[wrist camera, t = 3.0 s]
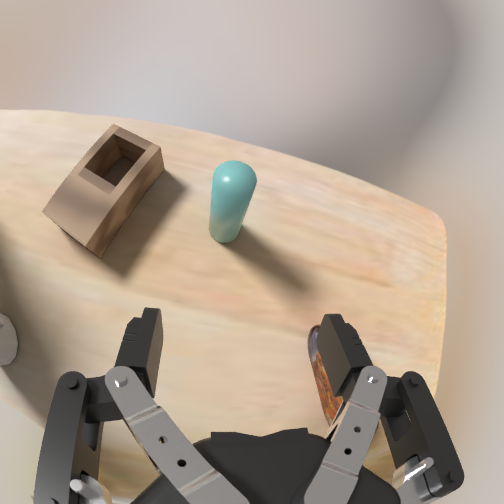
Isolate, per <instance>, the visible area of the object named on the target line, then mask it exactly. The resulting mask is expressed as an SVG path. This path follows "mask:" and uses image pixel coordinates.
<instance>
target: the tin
mask: <svg viewBox="0 0 504 504" xmlns="http://www.w3.org/2000/svg"><path fill="white" fill-rule="evenodd" d="M320 326H321V325H315V326H313V327H312V329H311V330H310V333H309V336H308V351H309V357H310V361H311V365H312V368H313V372H314V376H315V380H316V384H317V387H318V391H319V396H320V399H321V403H322V407H323V411H324V415H325V417H326V420H327V422H328V424H329V426H331V424H332V422H333V420H334V418H335V416H336V414H337V411H338V409H339V407H340V405H341V403H342V401H343V397H342V396H339V397H334V395H333V392H332V389H331V386H330V383H329V380H328V377H327V374H326V371H325V368H324V365H323V363H322V360H321V357H320V354H319V351H318V348H317V344H316V339H317V334H318V331H319V329H320ZM378 424H379V421H378ZM378 424H377V427H376V430H375V432H376V431H377V428H378ZM374 434H375V433H374Z"/></svg>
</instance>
